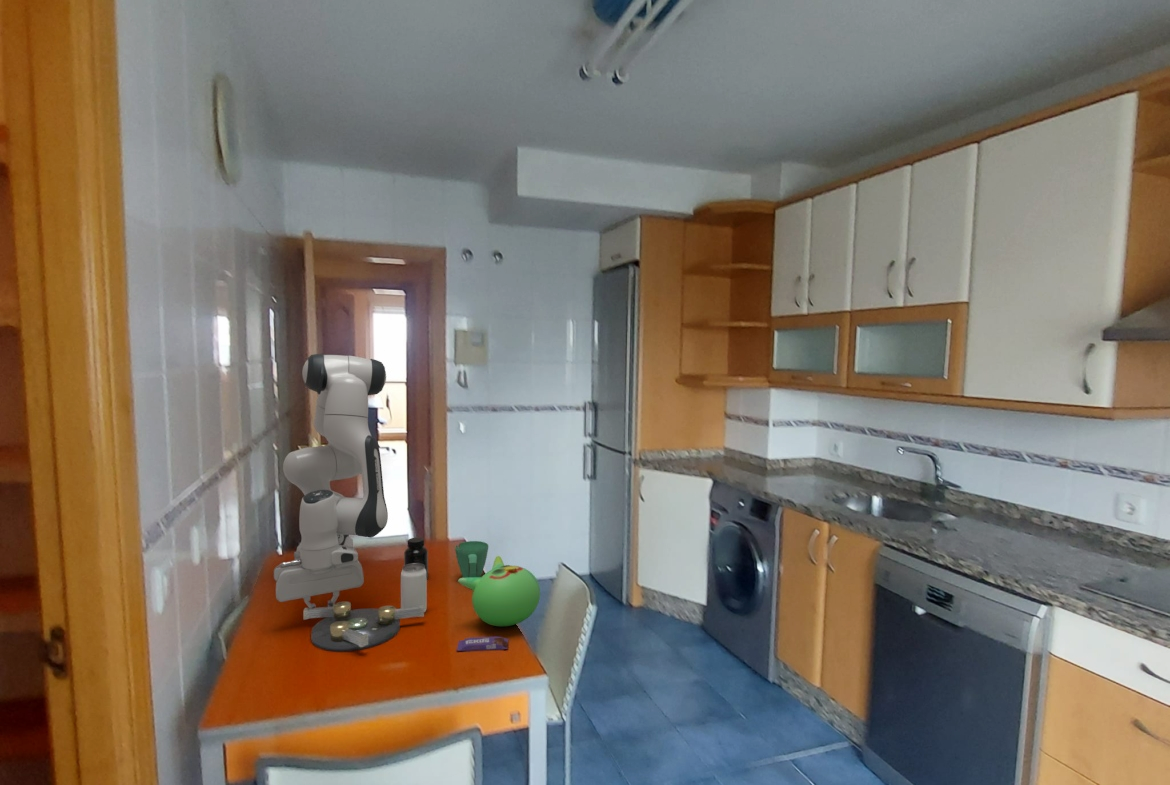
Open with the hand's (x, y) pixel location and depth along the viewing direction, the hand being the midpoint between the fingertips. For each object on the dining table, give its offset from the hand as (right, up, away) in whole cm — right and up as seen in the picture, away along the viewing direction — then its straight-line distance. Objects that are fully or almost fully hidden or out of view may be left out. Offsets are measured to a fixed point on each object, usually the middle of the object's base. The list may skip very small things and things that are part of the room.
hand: (321, 610), depth 155 cm
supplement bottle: (+16, -1, +30) cm, 34 cm away
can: (+22, -3, +6) cm, 23 cm away
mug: (+33, -2, +28) cm, 43 cm away
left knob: (+21, -1, -2) cm, 21 cm away
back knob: (+2, -1, -2) cm, 3 cm away
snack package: (+43, -5, -12) cm, 45 cm away
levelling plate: (+11, -3, -6) cm, 13 cm away
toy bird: (+46, -3, +1) cm, 46 cm away
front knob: (+13, -2, -14) cm, 19 cm away
